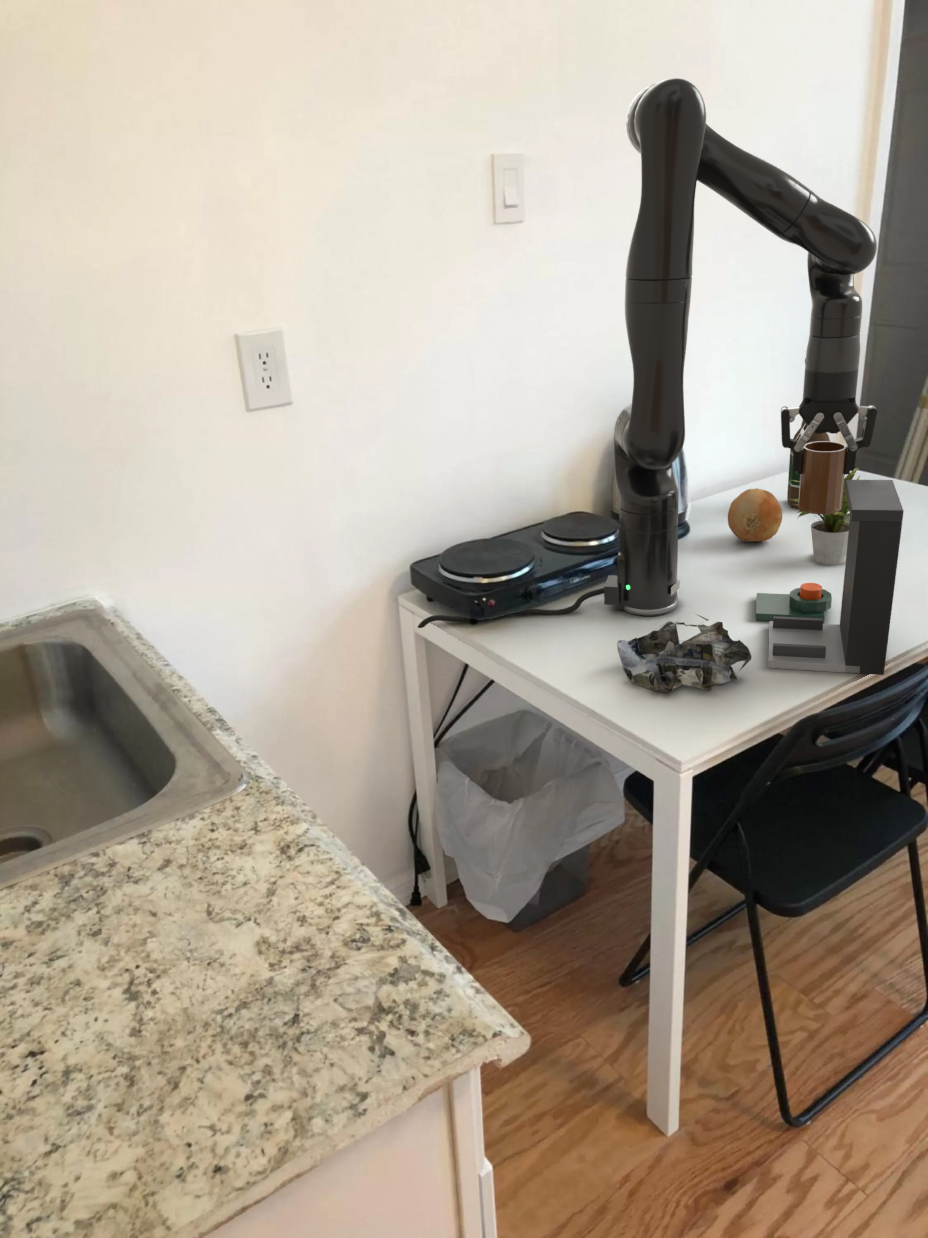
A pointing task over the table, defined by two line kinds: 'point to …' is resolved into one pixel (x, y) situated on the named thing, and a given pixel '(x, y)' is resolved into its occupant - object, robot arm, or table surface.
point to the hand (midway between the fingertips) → (822, 472)
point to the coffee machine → (851, 593)
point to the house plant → (831, 532)
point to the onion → (755, 515)
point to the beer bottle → (793, 485)
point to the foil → (682, 658)
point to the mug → (822, 477)
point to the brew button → (810, 591)
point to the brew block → (791, 605)
